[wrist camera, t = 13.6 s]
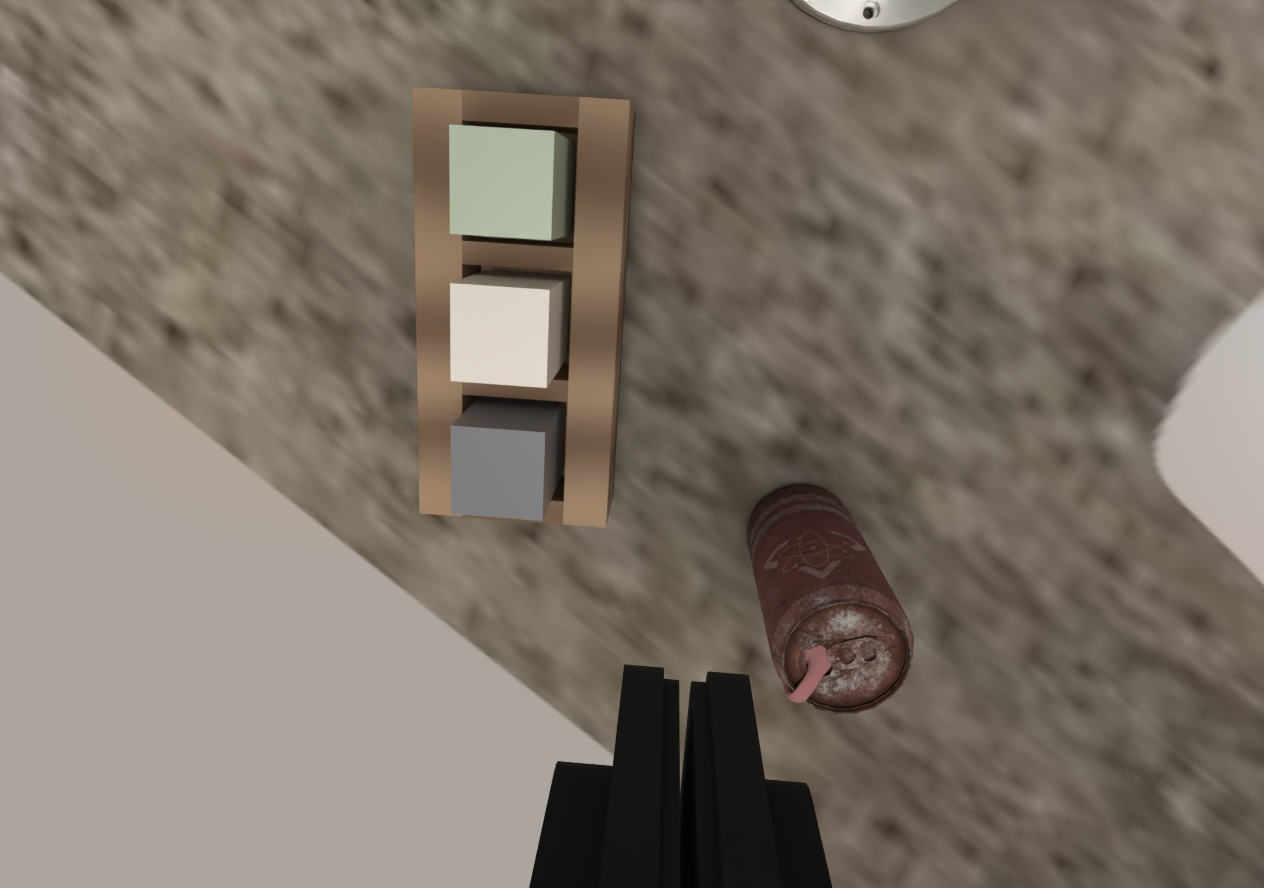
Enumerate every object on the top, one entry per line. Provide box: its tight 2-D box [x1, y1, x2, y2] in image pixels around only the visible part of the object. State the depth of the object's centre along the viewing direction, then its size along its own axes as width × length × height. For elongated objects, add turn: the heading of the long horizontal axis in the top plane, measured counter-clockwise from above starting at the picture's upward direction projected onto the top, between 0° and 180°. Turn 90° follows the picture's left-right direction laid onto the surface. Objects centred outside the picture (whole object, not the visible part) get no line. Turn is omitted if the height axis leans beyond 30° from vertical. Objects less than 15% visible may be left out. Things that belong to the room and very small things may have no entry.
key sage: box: [449, 125, 575, 240], centre depth 37 cm, size 4×4×7 cm
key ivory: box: [450, 270, 570, 388], centre depth 39 cm, size 4×4×7 cm
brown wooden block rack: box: [412, 87, 635, 528], centre depth 42 cm, size 21×10×5 cm, turn 176°
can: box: [748, 486, 914, 714], centre depth 41 cm, size 6×6×14 cm
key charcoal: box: [451, 396, 565, 521], centre depth 41 cm, size 4×4×7 cm
